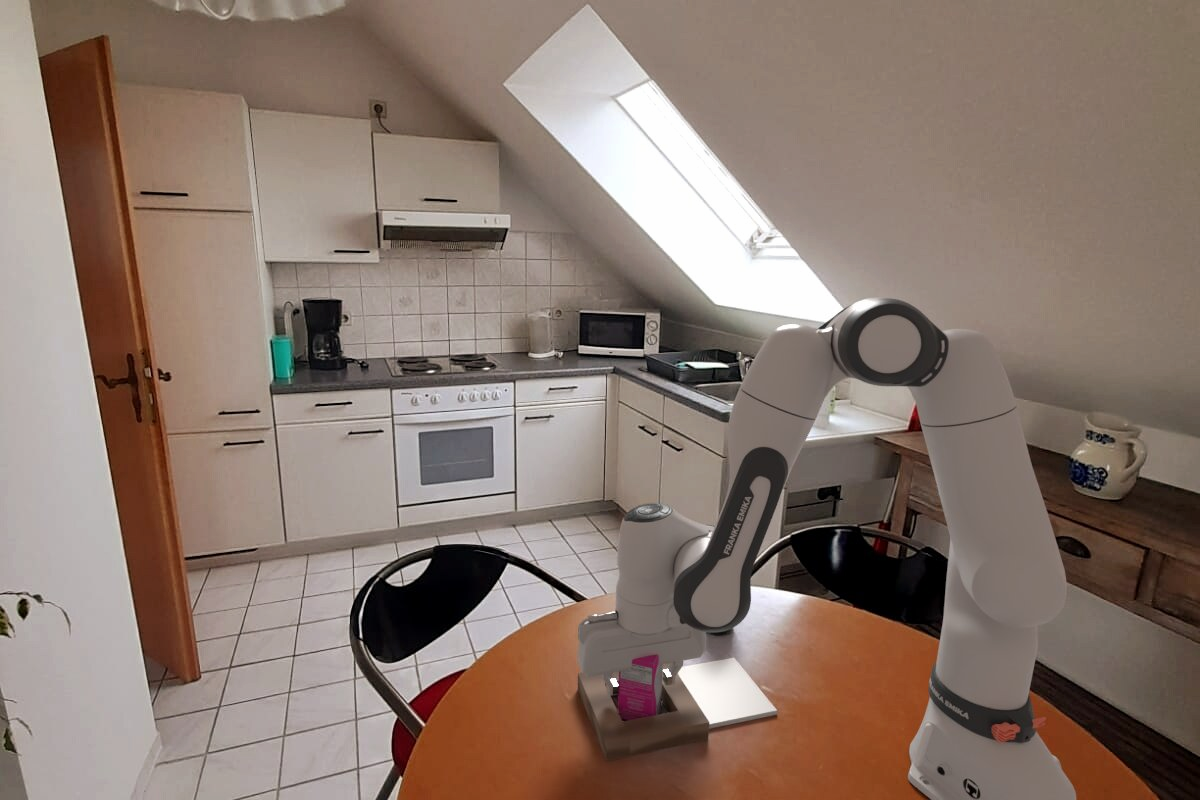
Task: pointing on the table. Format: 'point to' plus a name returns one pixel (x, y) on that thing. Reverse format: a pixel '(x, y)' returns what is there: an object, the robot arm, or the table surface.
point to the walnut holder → (642, 719)
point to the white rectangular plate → (725, 692)
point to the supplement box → (640, 689)
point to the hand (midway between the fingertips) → (640, 687)
